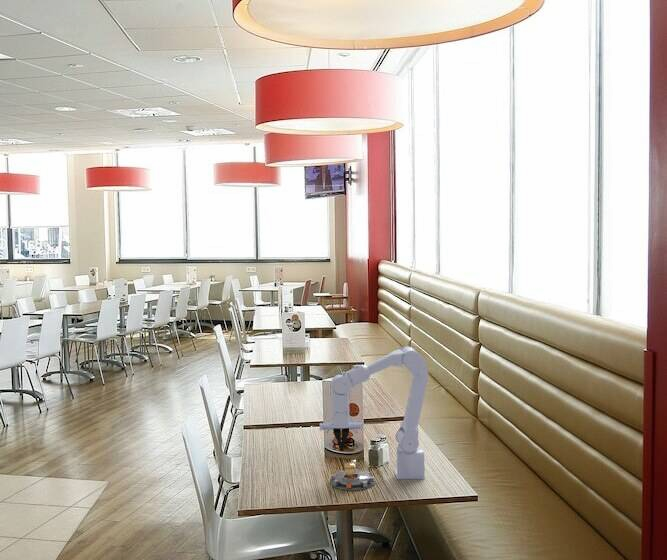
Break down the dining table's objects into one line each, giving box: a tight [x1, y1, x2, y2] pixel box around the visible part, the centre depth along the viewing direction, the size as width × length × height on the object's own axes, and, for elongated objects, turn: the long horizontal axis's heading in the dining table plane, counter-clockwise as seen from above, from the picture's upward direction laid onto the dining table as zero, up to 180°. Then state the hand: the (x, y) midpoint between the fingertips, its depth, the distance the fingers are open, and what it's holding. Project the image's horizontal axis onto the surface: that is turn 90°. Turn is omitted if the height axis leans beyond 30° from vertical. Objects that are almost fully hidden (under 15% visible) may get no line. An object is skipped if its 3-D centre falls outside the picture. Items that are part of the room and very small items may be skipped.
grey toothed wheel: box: [330, 459, 375, 488], centre depth 243 cm, size 14×14×6 cm
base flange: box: [329, 478, 376, 492], centre depth 243 cm, size 15×15×1 cm
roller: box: [344, 462, 355, 478], centre depth 240 cm, size 3×3×5 cm
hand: (341, 450), depth 246 cm, fingers closed
